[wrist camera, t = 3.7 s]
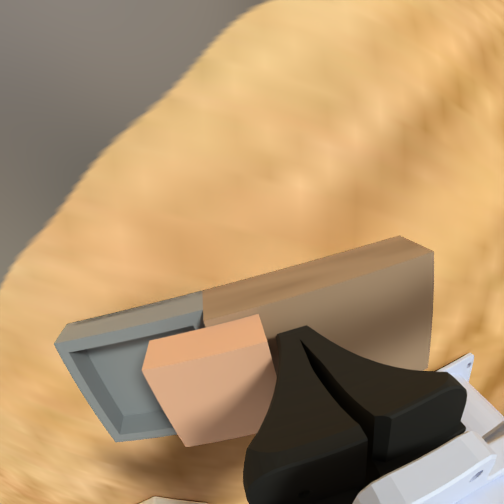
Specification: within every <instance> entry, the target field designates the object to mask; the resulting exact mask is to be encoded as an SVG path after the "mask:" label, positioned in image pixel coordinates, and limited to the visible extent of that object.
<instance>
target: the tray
mask: <svg viewBox="0 0 504 504" xmlns="http://www.w3.org/2000/svg"><path fill="white" fill-rule="evenodd" d="M202 328H206V327H205V324H204V321H203V297H202V291H199V292H195V293H191V294H188V295H184V296H180V297H176V298H172V299H168V300H164V301H160V302H156V303H152V304H148V305H144V306H140V307H136V308H132V309H128V310H124V311H120V312H116V313H111V314H107V315H103V316H99V317H95V318H90V319H86V320H82V321H78V322H73V323H69V324H67V325H66V326H65V328H64V329H63V331H62V332H61V334H60V335H59V337H58V338H57V340H56V341H55V343H54V345H55V347H56V349H57V351H58V353H59V355H60V356H61V358H62V360H63V362H64V364H65V365H66V367H67V369H68V371H69V372H70V374H71V376H72V378H73V379H74V381H75V383H76V384H77V386H78V388H79V389H80V391H81V392H82V394H83V396H84V397H85V399H86V400H87V402H88V403H89V405H90V406H91V408H92V409H93V411H94V412H95V414H96V415H97V417H98V418H99V420H100V421H101V423H102V424H103V426H104V427H105V428H106V430H107V431H108V433H109V434H110V435H111V437H112V438H113V439H114V441H115V442H123V441H132V440H141V439H149V438H157V437H164V436H170V435H176V434H177V432H176V431H175V429H174V427H173V426H172V424H171V422H170V421H169V419H168V417H167V416H166V414H165V412H164V411H163V409H162V407H161V405H160V404H159V402H158V400H157V398H156V396H155V395H154V393H153V391H152V389H151V387H150V385H149V384H148V382H147V380H146V378H145V376H144V374H143V372H142V367H143V363H144V359H145V355H146V352H147V348H148V344H149V341H150V340H155V339H159V338H164V337H168V336H172V335H177V334H181V333H185V332H189V331H194V330H198V329H202Z"/></svg>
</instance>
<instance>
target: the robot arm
mask: <svg viewBox="0 0 504 504" xmlns="http://www.w3.org/2000/svg"><path fill="white" fill-rule="evenodd" d="M275 338H276V342H277V346H278V351H279V362H278V373H277V380H276V385H275V389H274V393H273V397H272V400H271V403H270V406H269V409H268V411H267V414H266V416H265V418H264V420H263V422H262V424H261V427H260V429H259V430H258V432H257V434H256V436H255V437H254V439H253V440H252V442H251V443H250V445H249V447H248V448H247V451H246V456H245V462H244V471H243V484H244V489H245V493H246V497H247V501H248V502H249V504H504V416H503V415H502V414H501V413H500V412H498V411H497V410H496V409H495V408H494V407H493V406H492V405H491V404H490V403H489V402H488V401H487V400H486V399H485V398H484V397H483V396H482V395H481V394H480V393H479V392H478V391H477V390H476V389H475V388H474V387H473V386H472V385H470V384H469V383H468V382H469V378H470V374H471V369H472V365H473V360H474V355H473V354H472V353H468V354H466V355H465V356H463V357H461V358H459V359H458V360H456V361H454V362H452V363H450V364H449V365H447V366H445V367H443V368H441V369H439V370H437V371H418V370H410V369H404V368H398V367H394V366H390V365H386V364H382V363H378V362H375V361H372V360H370V359H367V358H364V357H361V356H359V355H357V354H355V353H352V352H350V351H348V350H346V349H344V348H342V347H341V346H339V345H337V344H335V343H334V342H332V341H330V340H329V339H327V338H325V337H324V336H322V335H321V334H319V333H318V332H316V331H315V330H313V329H312V328H310V327H309V326H307V325H305V326H302V327H299V328H296V329H292V330H289V331H285V332H282V333H278V334H277V335H276V337H275Z"/></svg>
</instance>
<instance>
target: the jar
mask: <svg viewBox="0 0 504 504" xmlns="http://www.w3.org/2000/svg"><path fill="white" fill-rule="evenodd" d="M139 504H208V503H205V502H194V501H185V500H178V499H170V498H164V497H158V496H154V497H152V498H150V499H147V500H145V501H143V502H141V503H139Z"/></svg>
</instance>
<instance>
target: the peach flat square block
mask: <svg viewBox="0 0 504 504" xmlns="http://www.w3.org/2000/svg"><path fill="white" fill-rule="evenodd" d="M142 372H143V374H144V376H145V378H146V380H147V382H148V384H149V385H150V387H151V389H152V391H153V393H154V395H155V396H156V398H157V400H158V402H159V404H160V405H161V407H162V409H163V411H164V412H165V414H166V416H167V417H168V419H169V421H170V422H171V424H172V426H173V427H174V429H175V431H176V432H177V434H178V436H179V437H180V439H181V440H182V442H183V444H184V445H185V447H190V446H197V445H203V444H208V443H214V442H219V441H224V440H229V439H234V438H239V437H243V436H248V435H252V434H256V433H257V432H258V430H259V429H260V427H261V424H262V422H263V420H264V418H265V416H266V414H267V411H268V409H269V406H270V403H271V400H272V397H273V393H274V389H275V385H276V380H277V376H276V372H275V369H274V365H273V361H272V357H271V354H270V350H269V346H268V342H267V339H266V336H265V333H264V329H263V326H262V323H261V320H260V317H259V314H256V315H252V316H249V317H245V318H241V319H237V320H233V321H230V322H226V323H222V324H218V325H214V326H210V327H206V328H202V329H198V330H194V331H189V332H185V333H181V334H177V335H172V336H168V337H164V338H159V339H155V340H150V341H149V344H148V348H147V352H146V355H145V359H144V363H143V367H142Z"/></svg>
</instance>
